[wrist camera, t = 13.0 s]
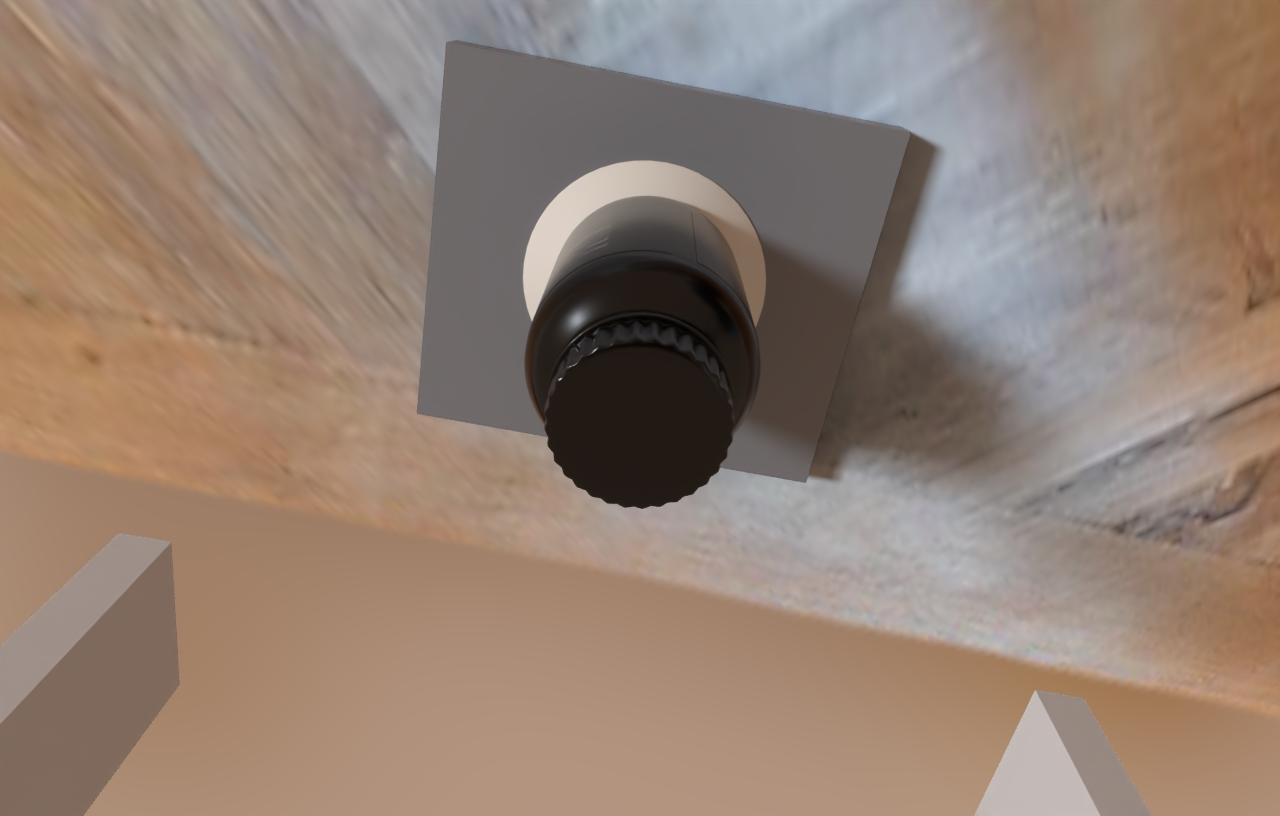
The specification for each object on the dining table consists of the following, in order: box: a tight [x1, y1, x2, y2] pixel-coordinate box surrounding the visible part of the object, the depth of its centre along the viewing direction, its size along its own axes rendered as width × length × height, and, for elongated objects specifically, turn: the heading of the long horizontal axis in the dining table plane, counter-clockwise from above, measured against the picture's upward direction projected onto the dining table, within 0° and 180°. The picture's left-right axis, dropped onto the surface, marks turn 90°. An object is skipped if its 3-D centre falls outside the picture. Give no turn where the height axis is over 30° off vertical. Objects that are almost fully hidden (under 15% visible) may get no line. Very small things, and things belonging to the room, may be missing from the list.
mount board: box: [417, 40, 911, 483], centre depth 33 cm, size 16×14×2 cm
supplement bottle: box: [524, 196, 761, 509], centre depth 27 cm, size 7×7×12 cm
